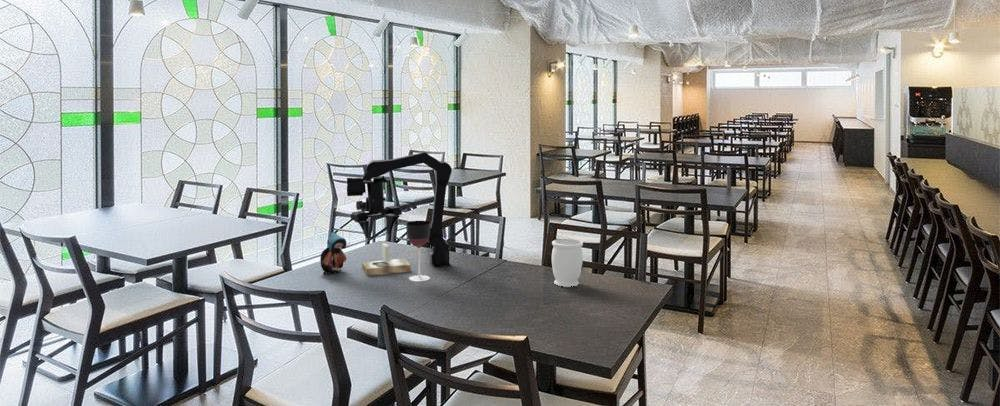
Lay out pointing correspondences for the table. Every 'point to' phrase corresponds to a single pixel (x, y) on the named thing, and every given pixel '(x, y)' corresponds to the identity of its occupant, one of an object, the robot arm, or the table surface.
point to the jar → (567, 261)
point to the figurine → (333, 255)
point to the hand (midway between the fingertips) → (377, 236)
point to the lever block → (386, 267)
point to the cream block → (384, 254)
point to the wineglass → (418, 241)
